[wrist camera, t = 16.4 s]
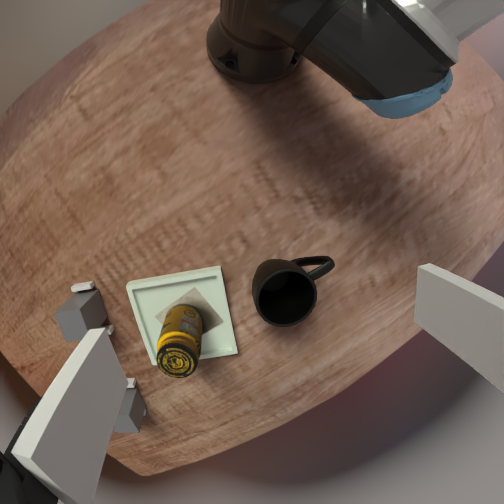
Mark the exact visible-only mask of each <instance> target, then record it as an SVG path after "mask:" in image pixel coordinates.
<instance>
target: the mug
mask: <svg viewBox="0 0 504 504" xmlns="http://www.w3.org/2000/svg"><path fill="white" fill-rule="evenodd" d="M308 265H321V266H319V267H318V268H316V269H314V270H312V271H310V272H308V273H306V272H305V271H304V270H303V269H302V268H301V267H302V266H308ZM334 267H335V264H334V261H333V260H332V259H331V258H330V257H329V256H314V257H304V258H298V259H294V260H291V261H287V260H282V259H270V260H267V261H265V262H263V263H262V264H261V265H260V266H259V267H258V269H257V271H256V273H255V275H254V279H253V283H252V296H253V300H254V303H255V306H256V309H257V311H258V313H259V315H260V316H261V317H262V318H263V320H265V321H266V322H268V323H269V324H272V325H274V326H279V327H287V326H292V325H295V324H297V323H299V322H301V321H303V320H304V319H305V318H306V317H307V316H308V315H309V314H310V313H311V312H312V310H313V308H314V306H315V303H316V300H317V289H316V285H315V283H314V280H316V279H318V278H320V277H322V276H323V275H325V274H327V273H328V272H330V271H331V270H332V269H333V268H334Z"/></svg>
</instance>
